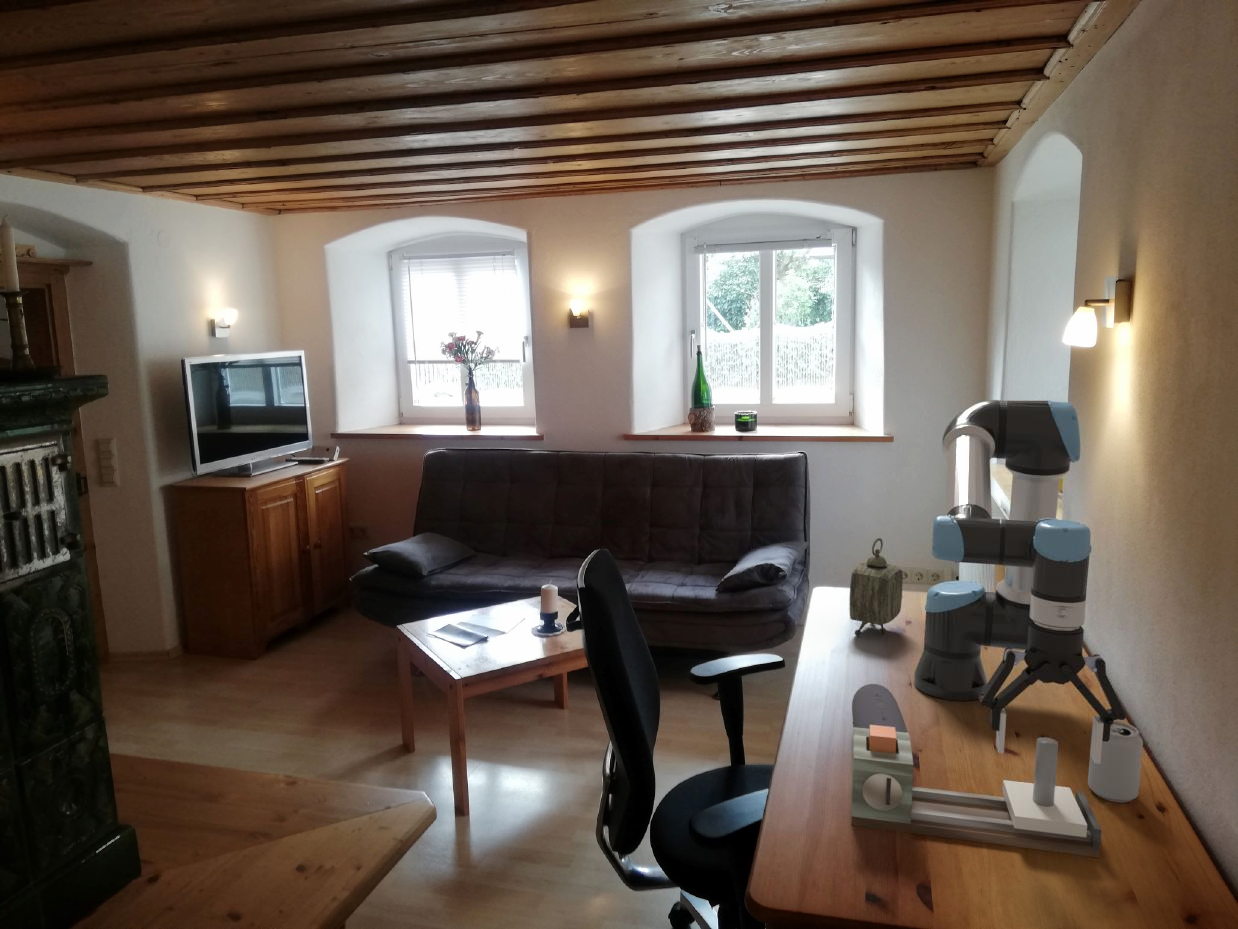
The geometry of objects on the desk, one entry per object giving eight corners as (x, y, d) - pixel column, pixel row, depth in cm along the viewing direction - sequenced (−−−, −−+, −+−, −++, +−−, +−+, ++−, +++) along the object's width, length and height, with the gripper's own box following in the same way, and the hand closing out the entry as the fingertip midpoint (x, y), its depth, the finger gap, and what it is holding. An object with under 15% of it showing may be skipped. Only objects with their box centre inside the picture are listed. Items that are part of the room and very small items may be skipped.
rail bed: (851, 789, 150) (853, 727, 149) (1081, 817, 141) (1086, 751, 140) (851, 827, 139) (853, 760, 137) (1101, 860, 130) (1107, 789, 128)
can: (1137, 809, 144) (1143, 741, 142) (1085, 797, 147) (1091, 730, 146) (1138, 789, 150) (1144, 723, 148) (1089, 777, 154) (1094, 713, 152)
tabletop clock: (868, 621, 235) (871, 531, 231) (901, 627, 230) (905, 535, 226) (848, 637, 224) (851, 542, 220) (883, 644, 218) (887, 547, 214)
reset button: (869, 741, 145) (869, 724, 144) (894, 744, 144) (895, 727, 143) (869, 752, 141) (870, 735, 140) (895, 755, 140) (896, 738, 139)
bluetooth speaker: (914, 790, 150) (917, 735, 149) (858, 785, 152) (860, 731, 150) (897, 730, 172) (899, 682, 171) (848, 727, 174) (850, 679, 172)
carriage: (1002, 791, 144) (1006, 722, 142) (1068, 799, 141) (1074, 729, 139) (1014, 828, 133) (1019, 754, 132) (1086, 837, 131) (1092, 762, 129)
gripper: (971, 624, 132) (964, 756, 135) (1156, 638, 126) (1144, 776, 129) (965, 609, 139) (958, 734, 142) (1140, 621, 133) (1129, 752, 136)
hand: (1046, 754), depth 136 cm, fingers open, 13 cm apart
